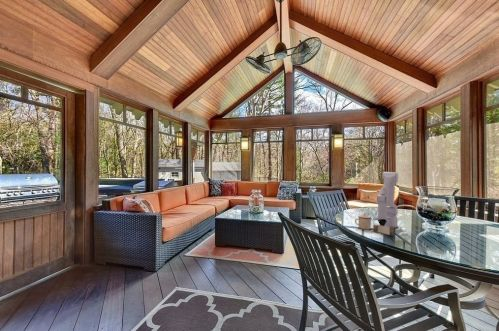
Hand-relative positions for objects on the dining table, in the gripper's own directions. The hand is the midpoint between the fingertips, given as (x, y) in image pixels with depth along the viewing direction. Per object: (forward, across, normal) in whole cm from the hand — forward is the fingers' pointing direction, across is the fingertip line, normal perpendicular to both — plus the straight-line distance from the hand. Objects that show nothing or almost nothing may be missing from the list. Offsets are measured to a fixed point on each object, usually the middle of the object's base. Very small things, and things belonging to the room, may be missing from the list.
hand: (381, 229), depth 176 cm
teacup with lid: (+2, +6, -12) cm, 14 cm away
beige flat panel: (+1, +1, +2) cm, 3 cm away
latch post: (+2, +4, -2) cm, 5 cm away
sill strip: (+2, +1, +2) cm, 3 cm away
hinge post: (+2, 0, +9) cm, 9 cm away
